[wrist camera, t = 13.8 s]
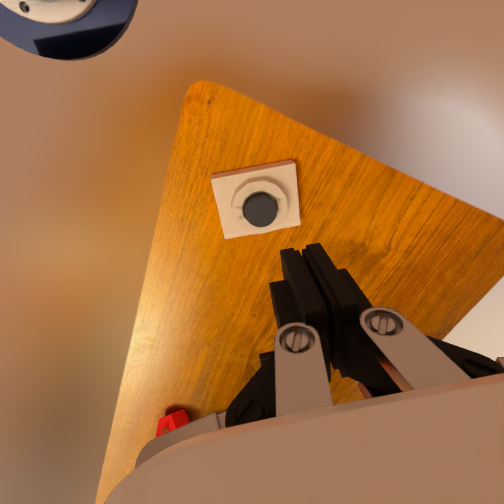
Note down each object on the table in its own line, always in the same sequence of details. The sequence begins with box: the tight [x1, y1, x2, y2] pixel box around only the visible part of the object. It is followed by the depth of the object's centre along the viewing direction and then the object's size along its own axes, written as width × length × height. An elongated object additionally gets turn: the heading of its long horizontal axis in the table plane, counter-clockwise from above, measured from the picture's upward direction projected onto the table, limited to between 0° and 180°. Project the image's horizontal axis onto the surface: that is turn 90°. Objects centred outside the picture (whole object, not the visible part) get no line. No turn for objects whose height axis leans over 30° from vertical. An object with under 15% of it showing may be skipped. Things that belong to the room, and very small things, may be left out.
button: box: [244, 193, 277, 227], centre depth 33 cm, size 4×4×2 cm
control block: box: [211, 159, 300, 239], centre depth 35 cm, size 10×8×4 cm
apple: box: [156, 409, 190, 437], centre depth 55 cm, size 7×7×8 cm
